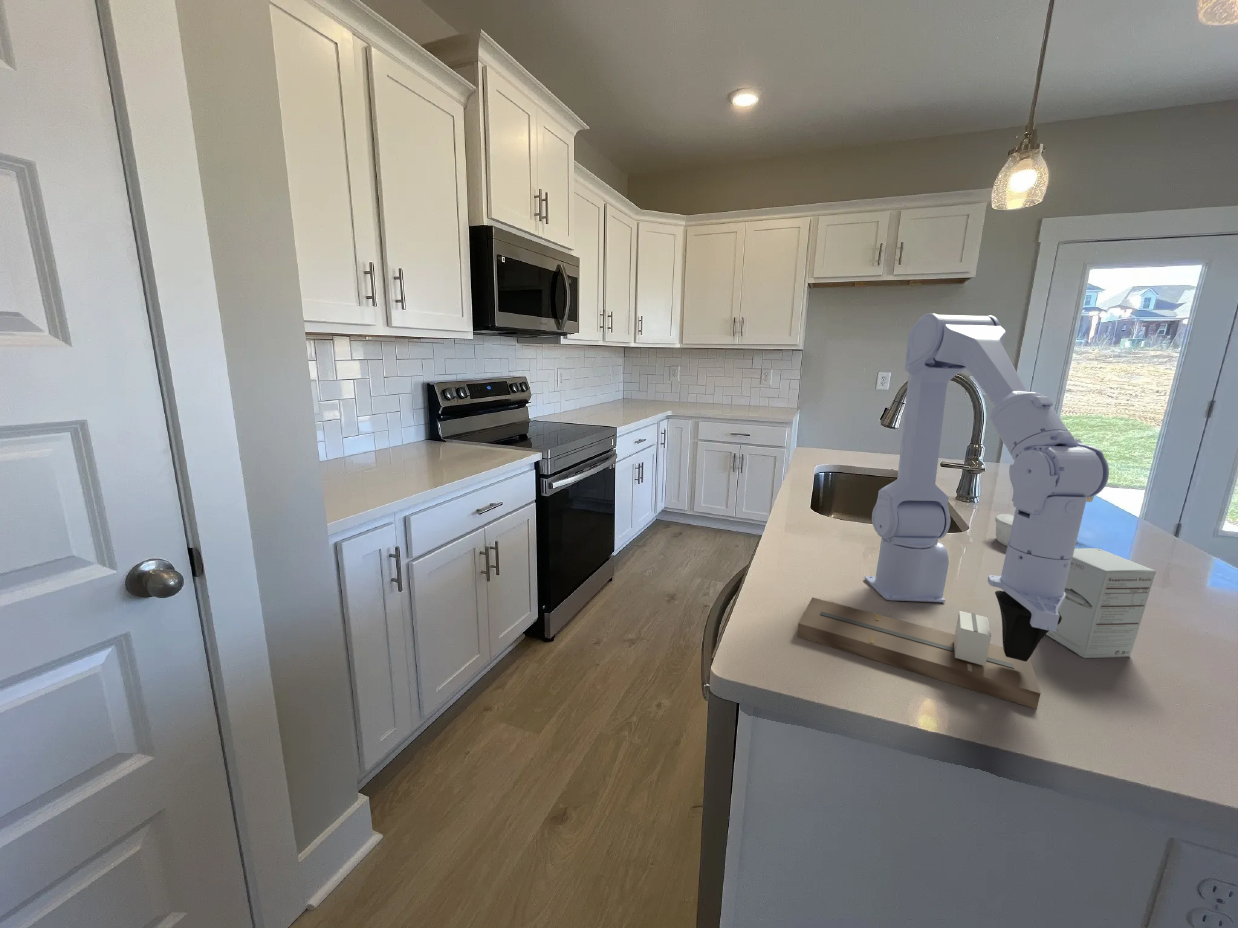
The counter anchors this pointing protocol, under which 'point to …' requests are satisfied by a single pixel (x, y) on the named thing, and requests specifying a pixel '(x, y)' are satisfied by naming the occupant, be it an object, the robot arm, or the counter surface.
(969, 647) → the fader knob
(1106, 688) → the counter surface
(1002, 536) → the ramekin
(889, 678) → the counter surface
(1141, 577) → the supplement box
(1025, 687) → the fader board
